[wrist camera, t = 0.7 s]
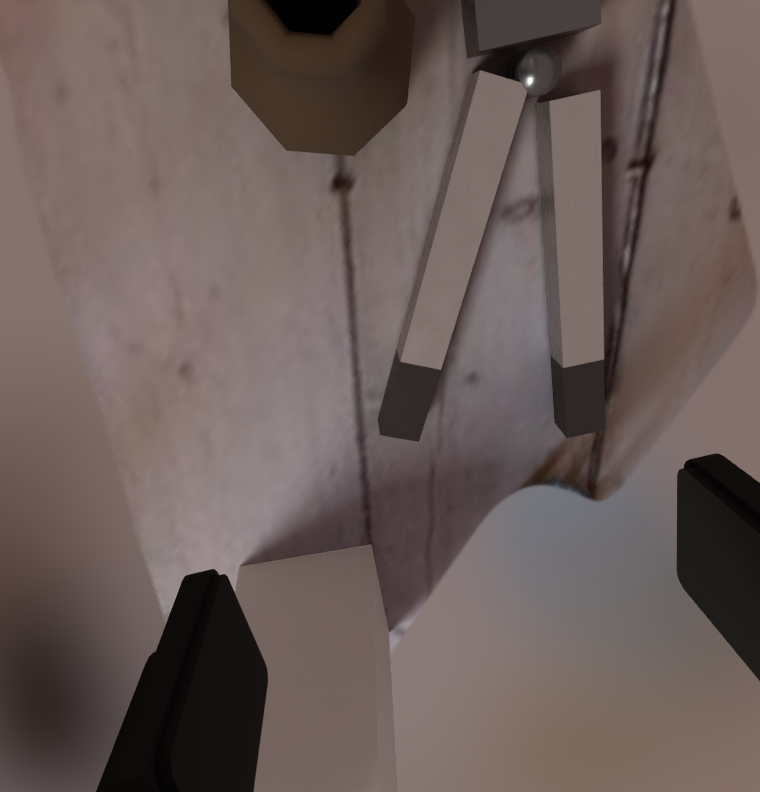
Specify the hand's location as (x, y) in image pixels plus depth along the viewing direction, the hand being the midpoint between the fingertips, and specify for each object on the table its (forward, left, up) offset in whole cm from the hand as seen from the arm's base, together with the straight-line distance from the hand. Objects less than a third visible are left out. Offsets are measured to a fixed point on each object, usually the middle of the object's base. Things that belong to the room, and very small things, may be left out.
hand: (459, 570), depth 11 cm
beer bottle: (-11, 0, -29) cm, 31 cm away
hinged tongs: (+1, +12, -29) cm, 31 cm away
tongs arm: (+1, +6, -29) cm, 29 cm away
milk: (+30, -11, -29) cm, 43 cm away
